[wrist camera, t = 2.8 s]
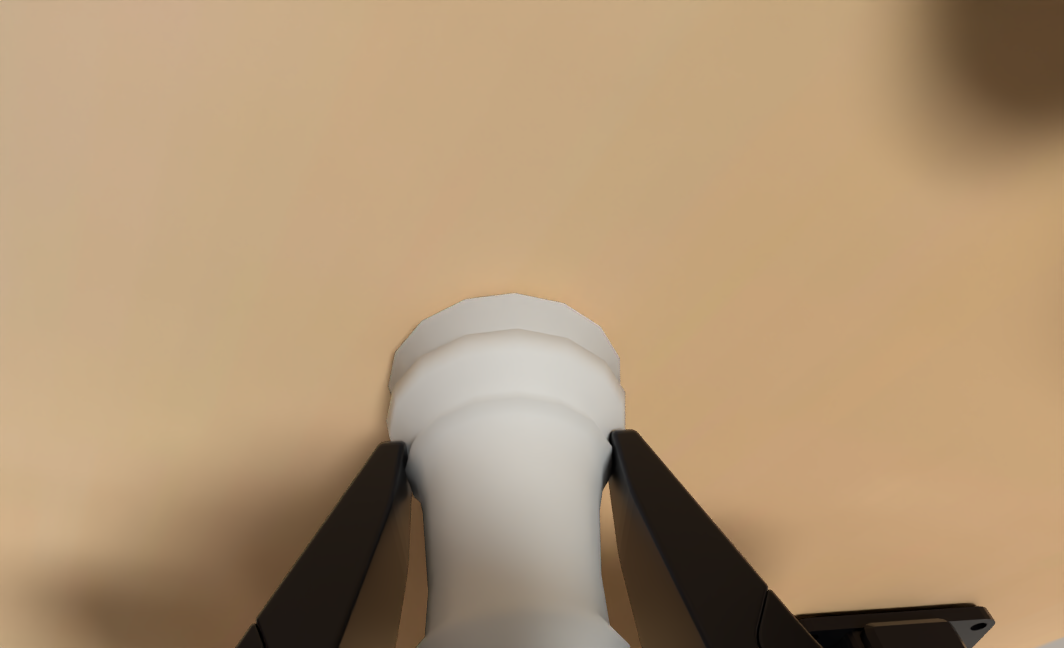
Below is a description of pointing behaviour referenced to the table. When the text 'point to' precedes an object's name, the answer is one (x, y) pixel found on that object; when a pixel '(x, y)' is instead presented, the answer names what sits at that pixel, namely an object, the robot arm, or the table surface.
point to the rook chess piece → (510, 469)
